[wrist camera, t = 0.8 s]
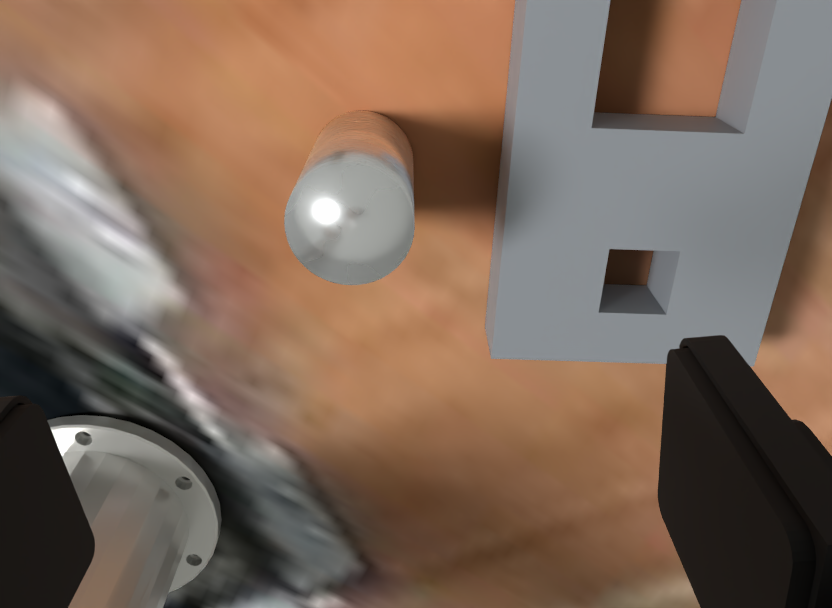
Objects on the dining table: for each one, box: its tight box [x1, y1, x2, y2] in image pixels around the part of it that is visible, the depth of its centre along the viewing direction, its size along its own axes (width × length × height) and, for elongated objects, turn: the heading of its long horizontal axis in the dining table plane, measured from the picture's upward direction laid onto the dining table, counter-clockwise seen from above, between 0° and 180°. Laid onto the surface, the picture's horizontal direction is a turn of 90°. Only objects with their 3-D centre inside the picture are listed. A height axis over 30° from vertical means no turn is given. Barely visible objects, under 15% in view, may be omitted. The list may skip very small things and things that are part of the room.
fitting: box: [284, 111, 415, 285], centre depth 28 cm, size 4×4×8 cm
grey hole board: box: [485, 0, 832, 366], centre depth 30 cm, size 18×12×3 cm, turn 178°
